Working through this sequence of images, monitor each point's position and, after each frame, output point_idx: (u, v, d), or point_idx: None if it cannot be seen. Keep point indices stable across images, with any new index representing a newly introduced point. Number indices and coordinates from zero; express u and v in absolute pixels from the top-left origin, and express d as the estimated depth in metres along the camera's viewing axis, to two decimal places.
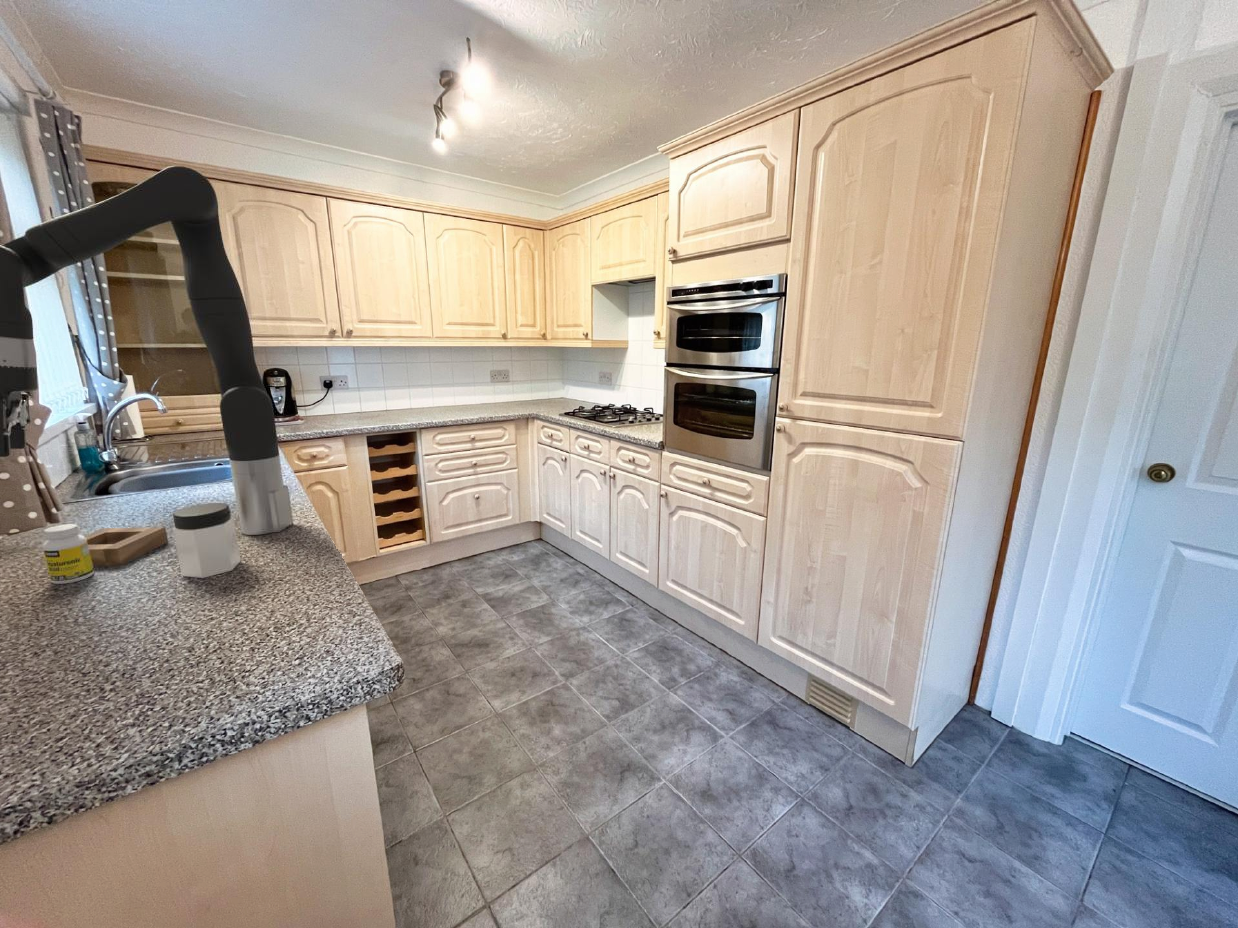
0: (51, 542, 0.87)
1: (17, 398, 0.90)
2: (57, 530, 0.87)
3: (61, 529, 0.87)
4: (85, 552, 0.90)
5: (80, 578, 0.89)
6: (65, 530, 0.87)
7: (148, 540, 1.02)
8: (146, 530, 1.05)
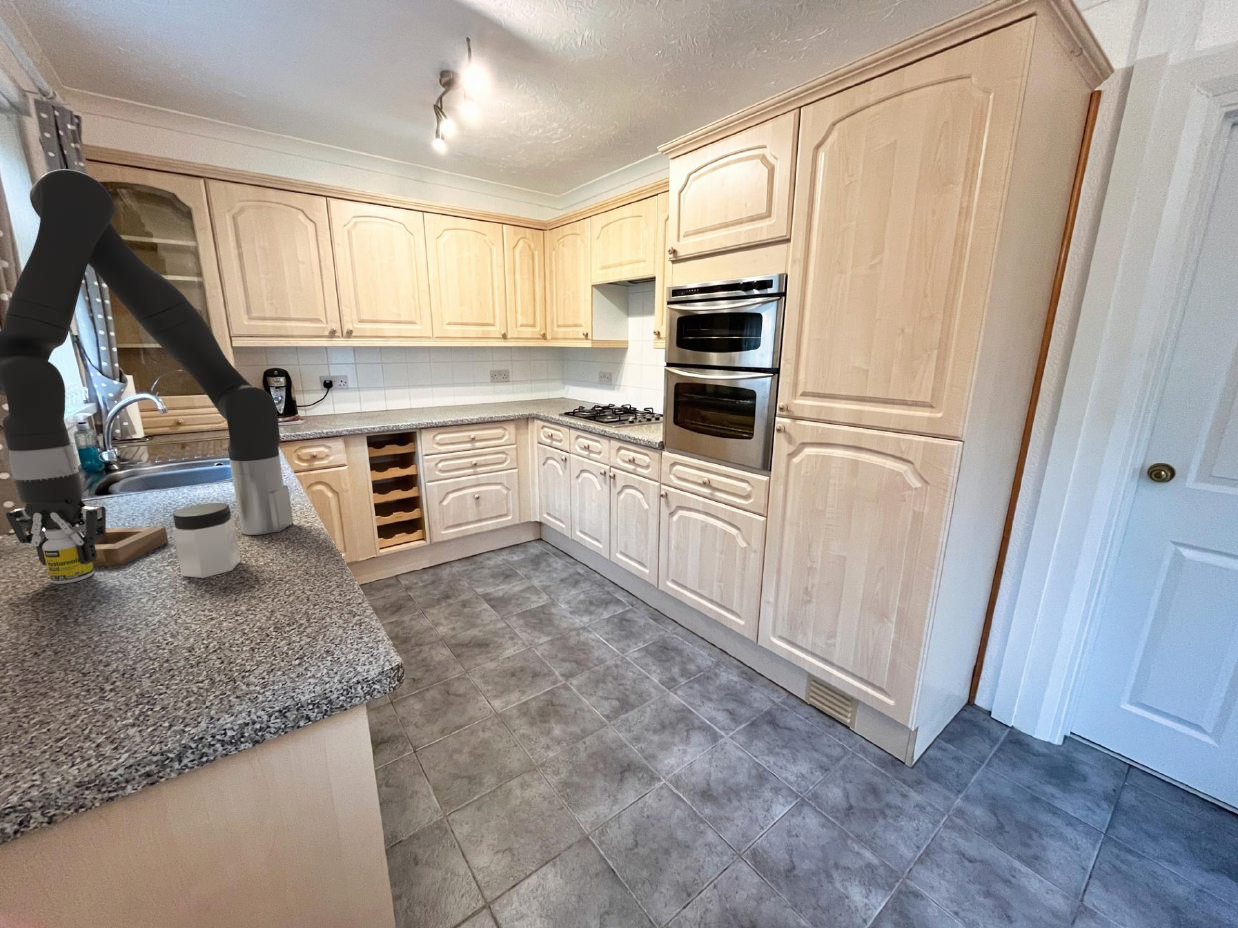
0: (51, 542, 0.87)
1: None
2: (57, 530, 0.87)
3: (61, 529, 0.87)
4: None
5: (80, 578, 0.89)
6: None
7: (148, 540, 1.02)
8: (146, 530, 1.05)
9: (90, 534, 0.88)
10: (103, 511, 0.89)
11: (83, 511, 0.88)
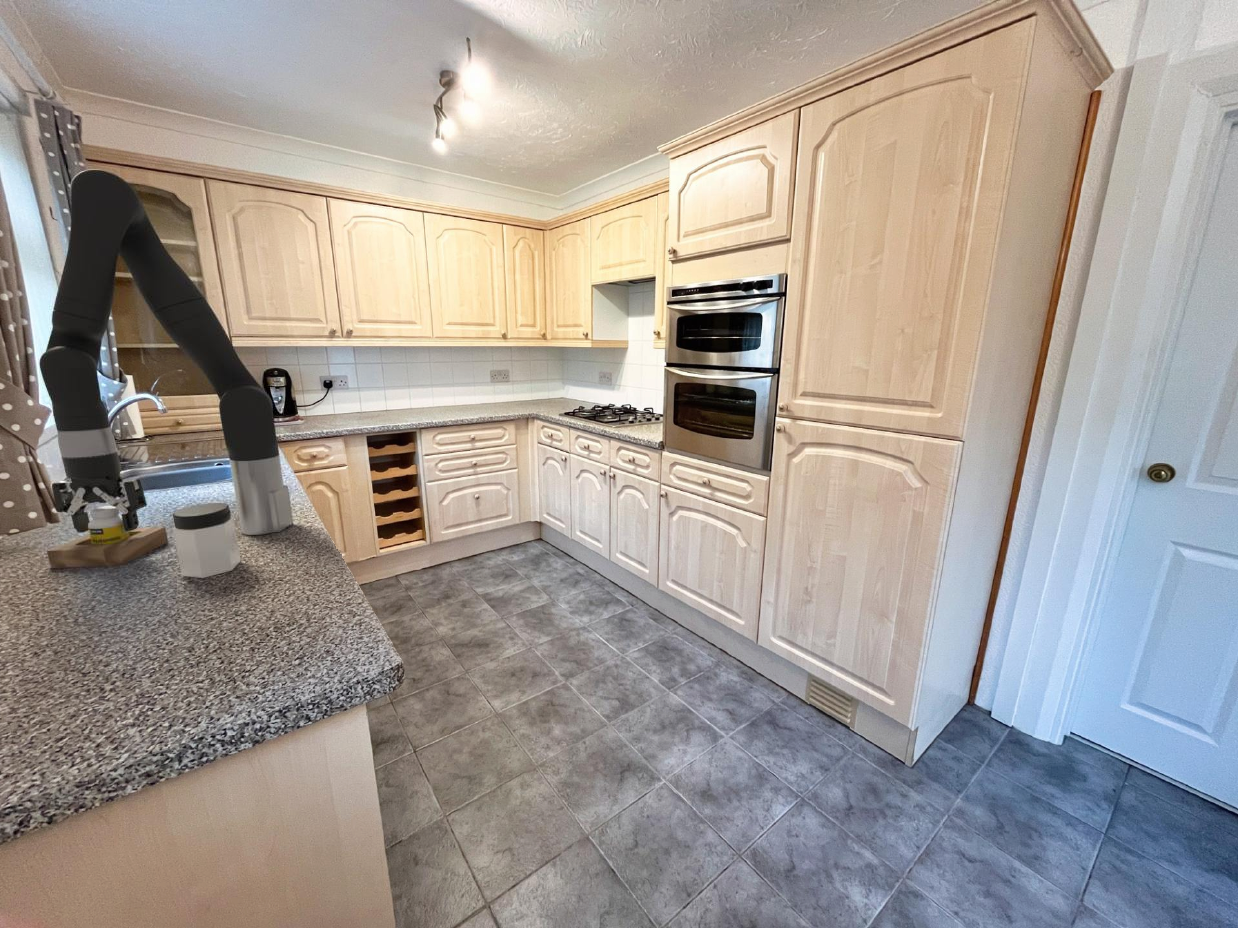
0: (96, 521, 0.97)
1: None
2: (101, 510, 0.97)
3: (104, 509, 0.98)
4: (124, 531, 1.00)
5: None
6: (108, 510, 0.98)
7: (148, 540, 1.02)
8: (146, 530, 1.05)
9: (134, 504, 0.98)
10: (139, 483, 0.99)
11: (121, 485, 0.98)
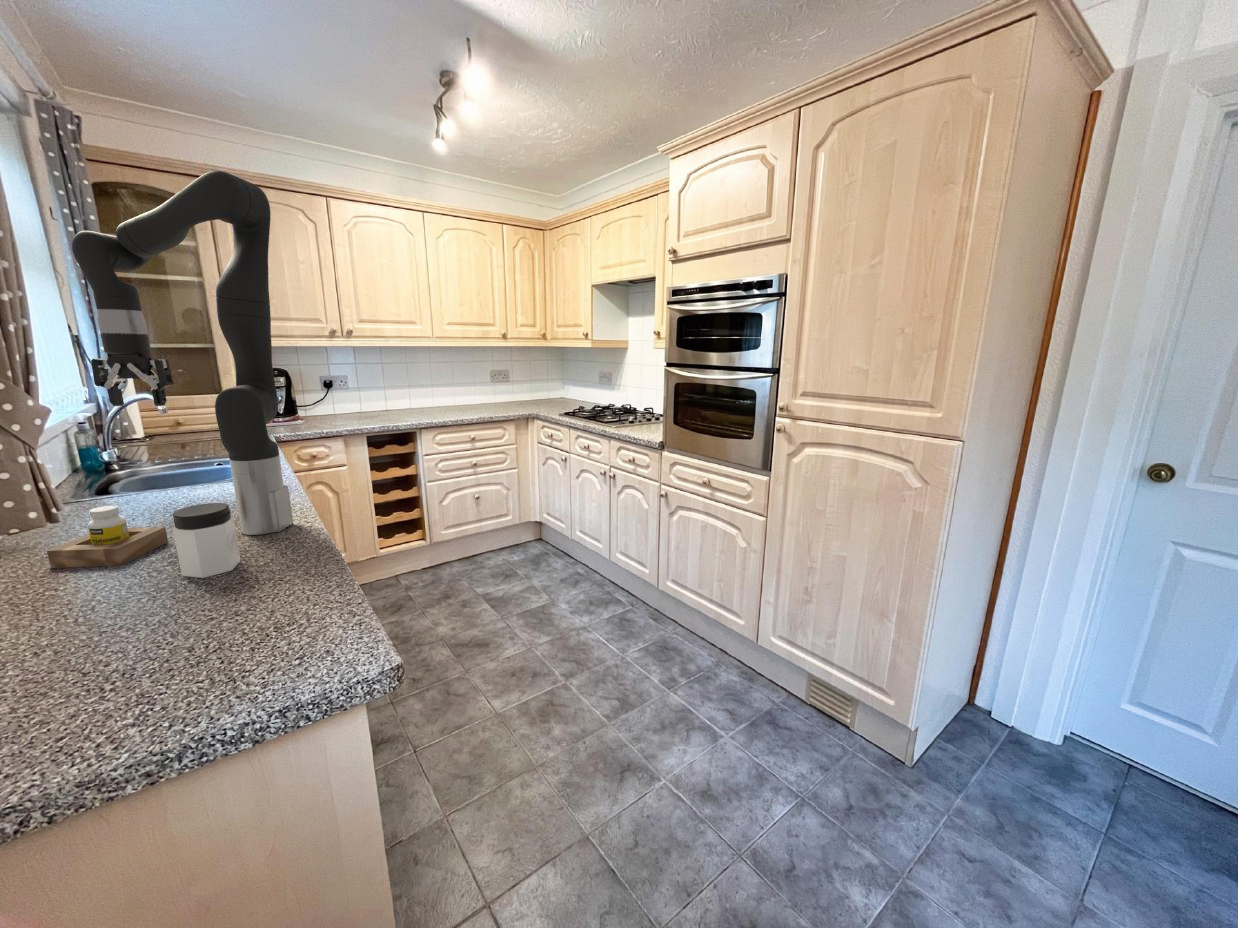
0: (96, 521, 0.97)
1: None
2: (101, 510, 0.97)
3: (104, 510, 0.98)
4: (124, 531, 1.00)
5: None
6: (108, 510, 0.98)
7: (148, 540, 1.02)
8: (146, 530, 1.05)
9: (163, 380, 1.11)
10: (167, 363, 1.12)
11: (152, 363, 1.10)
